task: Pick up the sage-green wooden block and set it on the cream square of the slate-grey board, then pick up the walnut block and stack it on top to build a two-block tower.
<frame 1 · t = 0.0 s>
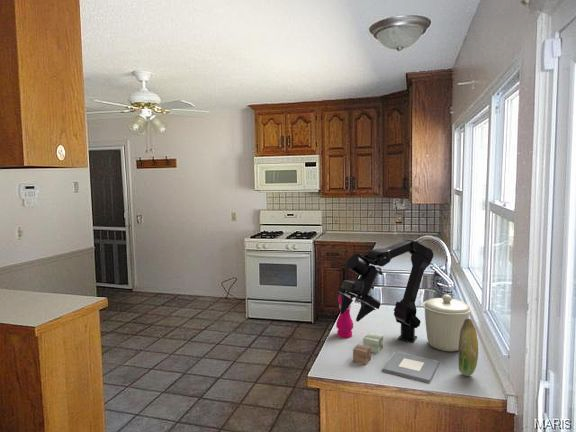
hand: (348, 317, 153), 15 cm above the worktop, tool tilted 35°, fingers open, 9 cm apart
vegetable: (467, 377, 138), on the worktop
pepper mill: (344, 335, 174), on the worktop
green block: (372, 349, 161), on the worktop
build board: (411, 367, 145), on the worktop
walnut block: (361, 361, 150), on the worktop
canister: (445, 346, 163), on the worktop
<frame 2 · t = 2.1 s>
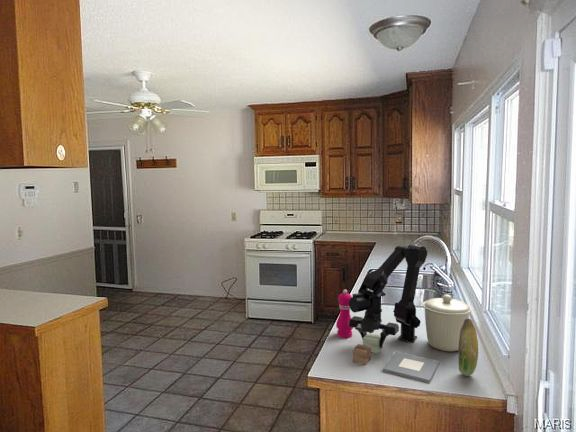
hand: (372, 346, 160), 1 cm above the worktop, tool pointing down, fingers closed on green block, 6 cm apart
green block: (372, 348, 161), on the worktop, touching gripper
everything else where it was.
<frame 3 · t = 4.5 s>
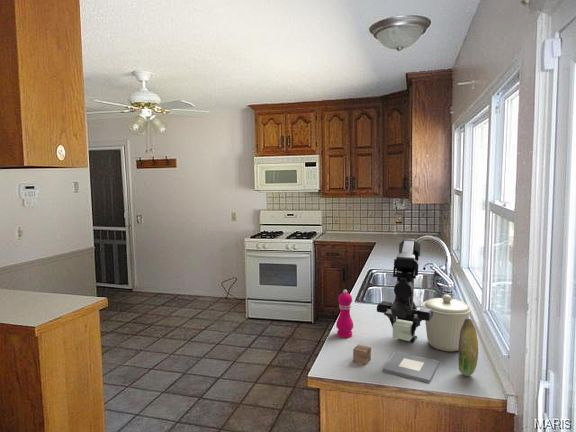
hand: (403, 333, 147), 11 cm above the worktop, tool pointing down, fingers closed on green block, 6 cm apart
green block: (403, 336, 147), point 10 cm above the worktop, touching gripper
everything else where it was.
when the fingers open (3 cm above the worktop, at t = 6.7 s): green block drops 1 cm, resting on build board.
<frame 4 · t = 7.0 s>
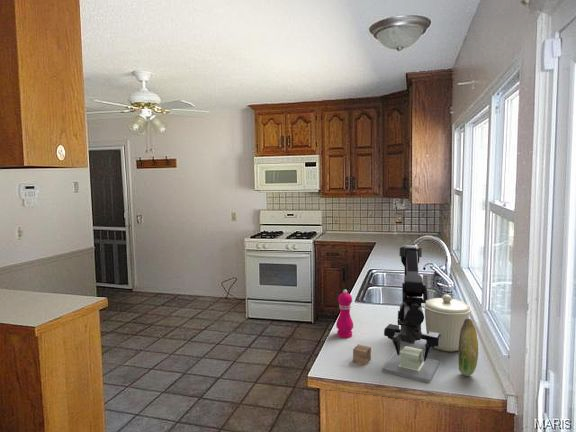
hand: (411, 357, 145), 3 cm above the worktop, tool pointing down, fingers open, 9 cm apart
green block: (411, 364, 145), point 1 cm above the worktop, touching build board
everything else where it was.
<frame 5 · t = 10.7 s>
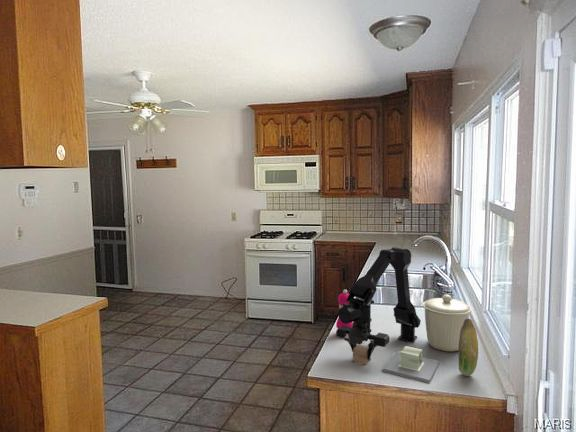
hand: (361, 358, 150), 1 cm above the worktop, tool pointing down, fingers closed on walnut block, 5 cm apart
walnut block: (361, 360, 150), on the worktop, touching gripper
everything else where it was.
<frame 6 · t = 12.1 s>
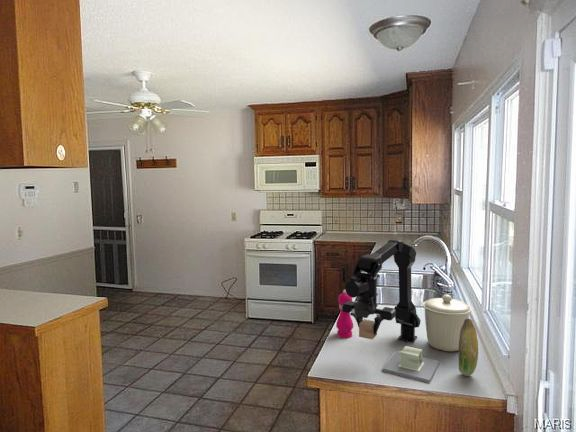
hand: (368, 332, 149), 11 cm above the worktop, tool pointing down, fingers closed on walnut block, 5 cm apart
walnut block: (368, 335, 149), point 10 cm above the worktop, touching gripper
everything else where it was.
when the fingers open (8 cm above the worktop, at t = 13.9 s): walnut block drops 1 cm, resting on green block.
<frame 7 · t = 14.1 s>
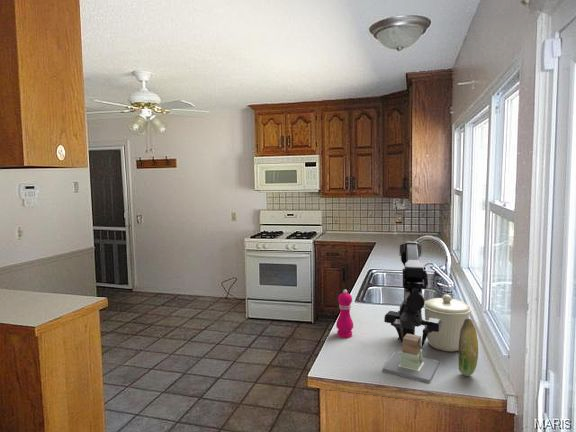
hand: (411, 344, 144), 8 cm above the worktop, tool pointing down, fingers open, 7 cm apart
green block: (411, 364, 145), point 1 cm above the worktop, touching build board, walnut block
walnut block: (411, 350, 144), point 6 cm above the worktop, touching green block
everything else where it was.
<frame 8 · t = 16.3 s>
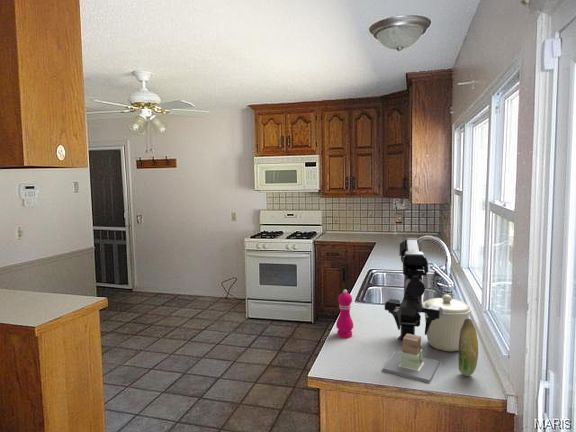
hand: (412, 332, 144), 13 cm above the worktop, tool pointing down, fingers open, 9 cm apart
nothing on the worktop moved.
at the end: green block 0.0 cm off-centre on the build board, point 1.1 cm above the build board's base; walnut block 0.0 cm off-centre on the green block, point 5.0 cm above the green block's base; walnut block tilted 0° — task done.
